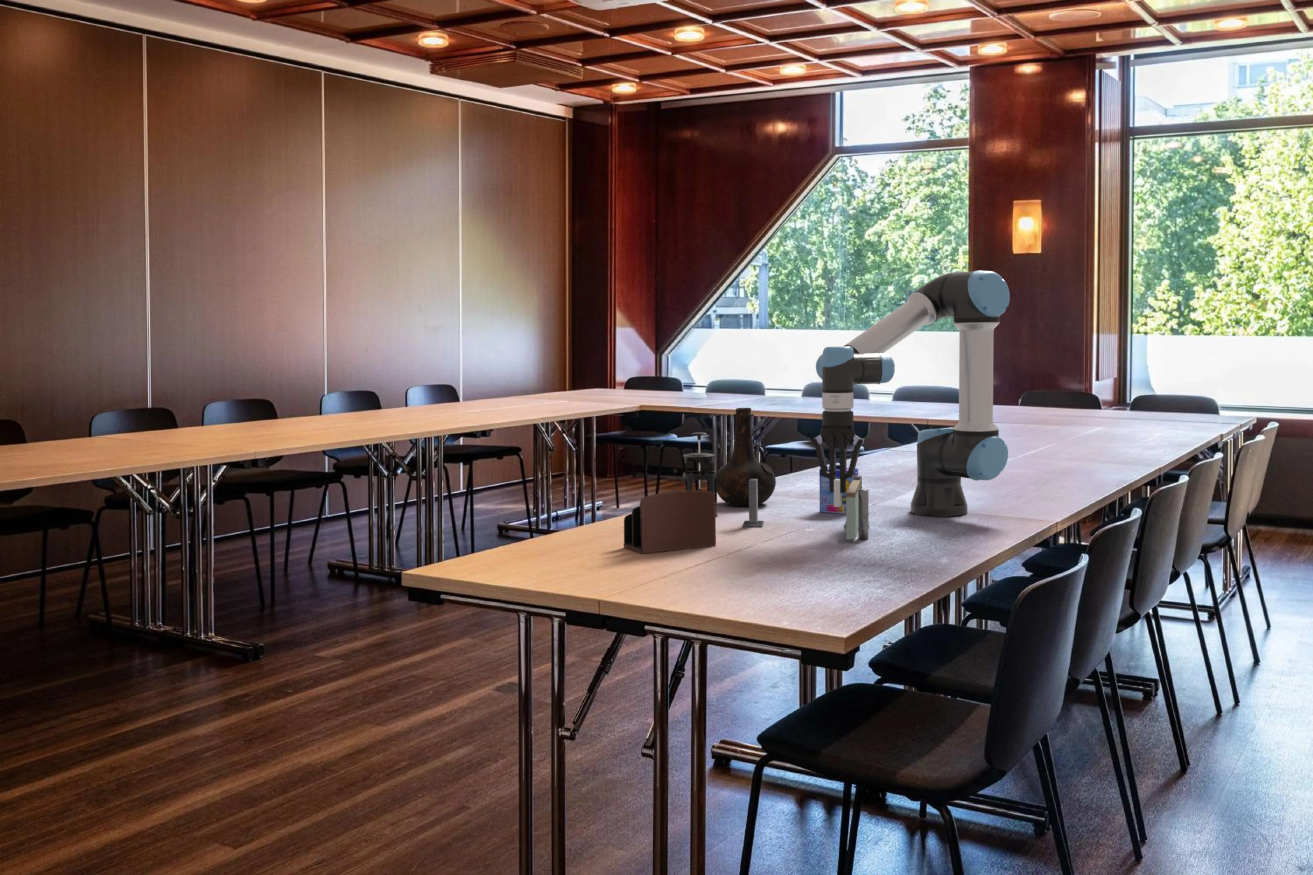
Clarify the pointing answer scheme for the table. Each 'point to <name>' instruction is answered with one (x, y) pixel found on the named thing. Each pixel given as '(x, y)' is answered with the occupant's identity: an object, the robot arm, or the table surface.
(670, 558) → the table surface
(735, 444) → the dark brown vase
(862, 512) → the pair of grey posts
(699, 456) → the french press
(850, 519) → the gate
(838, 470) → the ink cartridge box
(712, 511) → the letter holder
